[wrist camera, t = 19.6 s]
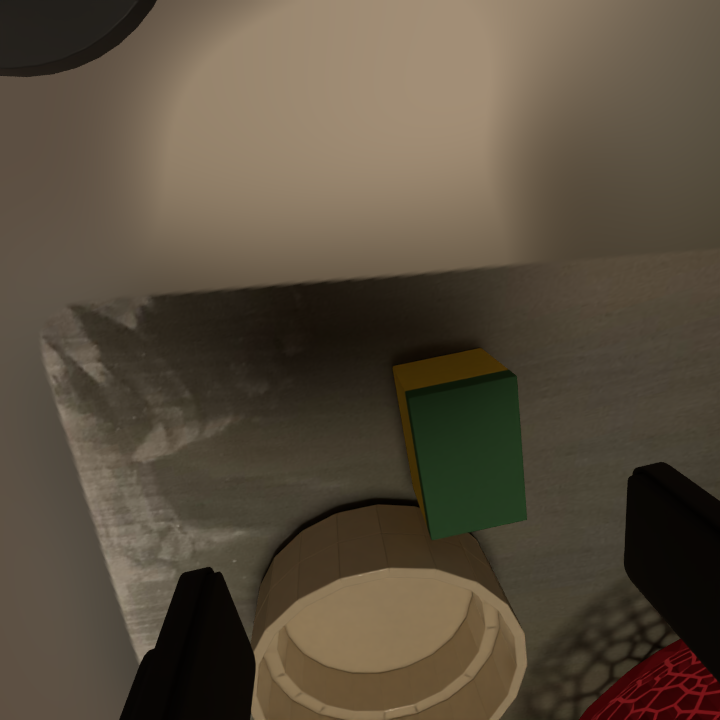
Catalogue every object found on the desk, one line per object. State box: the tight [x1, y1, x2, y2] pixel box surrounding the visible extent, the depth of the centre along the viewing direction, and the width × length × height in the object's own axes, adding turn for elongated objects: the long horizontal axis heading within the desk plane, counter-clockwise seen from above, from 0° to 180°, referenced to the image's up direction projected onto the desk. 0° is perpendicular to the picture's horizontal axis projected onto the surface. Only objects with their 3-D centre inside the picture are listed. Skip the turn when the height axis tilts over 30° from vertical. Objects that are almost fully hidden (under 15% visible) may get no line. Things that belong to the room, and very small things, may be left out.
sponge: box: [392, 348, 527, 540], centre depth 22 cm, size 8×5×4 cm, turn 11°
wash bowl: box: [250, 504, 527, 720], centre depth 25 cm, size 15×15×6 cm
